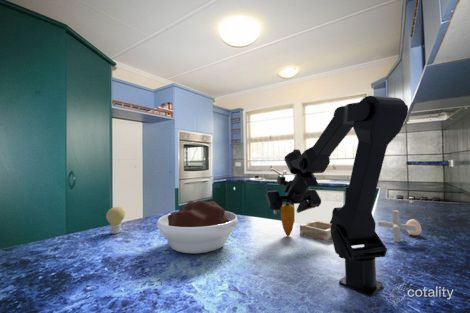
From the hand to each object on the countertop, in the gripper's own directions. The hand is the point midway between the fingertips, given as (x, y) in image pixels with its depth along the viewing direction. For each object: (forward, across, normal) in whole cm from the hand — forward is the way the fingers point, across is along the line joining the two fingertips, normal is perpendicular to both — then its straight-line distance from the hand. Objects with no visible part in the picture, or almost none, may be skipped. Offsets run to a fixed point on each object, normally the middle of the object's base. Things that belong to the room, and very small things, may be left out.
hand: (285, 212), depth 81 cm
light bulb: (+20, +63, -8) cm, 67 cm away
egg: (-2, -44, +14) cm, 47 cm away
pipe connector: (-5, -33, +17) cm, 37 cm away
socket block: (+4, -12, +8) cm, 15 cm away
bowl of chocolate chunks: (+3, +32, +9) cm, 34 cm away
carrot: (+5, 0, +7) cm, 9 cm away
